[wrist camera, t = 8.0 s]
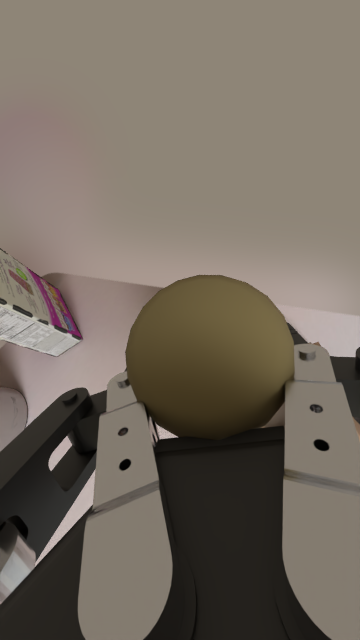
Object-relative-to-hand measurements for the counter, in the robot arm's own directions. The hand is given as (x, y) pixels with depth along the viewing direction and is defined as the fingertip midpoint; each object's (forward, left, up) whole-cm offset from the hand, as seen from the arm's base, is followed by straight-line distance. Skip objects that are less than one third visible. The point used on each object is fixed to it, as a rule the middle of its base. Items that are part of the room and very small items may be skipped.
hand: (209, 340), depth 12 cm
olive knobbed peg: (0, -2, -5) cm, 5 cm away
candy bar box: (-21, +16, -19) cm, 32 cm away
